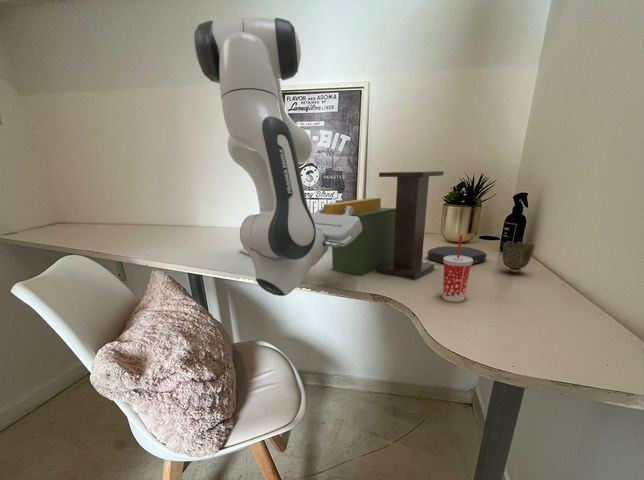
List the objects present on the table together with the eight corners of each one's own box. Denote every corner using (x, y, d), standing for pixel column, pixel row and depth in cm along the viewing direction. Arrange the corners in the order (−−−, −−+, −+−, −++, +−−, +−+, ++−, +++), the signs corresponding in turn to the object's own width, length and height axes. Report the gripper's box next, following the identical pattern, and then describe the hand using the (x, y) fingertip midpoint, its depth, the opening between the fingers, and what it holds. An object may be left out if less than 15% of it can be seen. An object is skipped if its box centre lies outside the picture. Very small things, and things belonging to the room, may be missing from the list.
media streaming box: (422, 257, 108) (422, 248, 107) (454, 252, 114) (455, 243, 113) (457, 268, 96) (458, 258, 95) (490, 261, 103) (492, 251, 102)
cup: (501, 267, 96) (506, 239, 93) (530, 271, 92) (536, 242, 89) (495, 274, 91) (500, 244, 87) (525, 278, 87) (532, 247, 84)
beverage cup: (459, 292, 78) (467, 231, 73) (472, 301, 73) (482, 237, 67) (434, 294, 77) (440, 233, 72) (446, 303, 72) (454, 238, 66)
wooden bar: (323, 216, 84) (323, 204, 83) (372, 208, 100) (372, 197, 99) (333, 217, 82) (332, 205, 81) (380, 208, 98) (380, 198, 97)
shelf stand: (376, 272, 94) (379, 172, 84) (397, 263, 103) (402, 171, 92) (414, 279, 88) (423, 172, 77) (434, 269, 96) (443, 171, 85)
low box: (332, 269, 98) (330, 212, 91) (367, 257, 111) (367, 206, 104) (360, 275, 92) (360, 215, 86) (393, 261, 105) (395, 208, 98)
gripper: (339, 236, 72) (370, 198, 78) (275, 228, 84) (307, 195, 90) (348, 258, 77) (377, 221, 82) (286, 247, 88) (315, 215, 94)
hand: (340, 207), depth 86 cm, fingers open, 5 cm apart
